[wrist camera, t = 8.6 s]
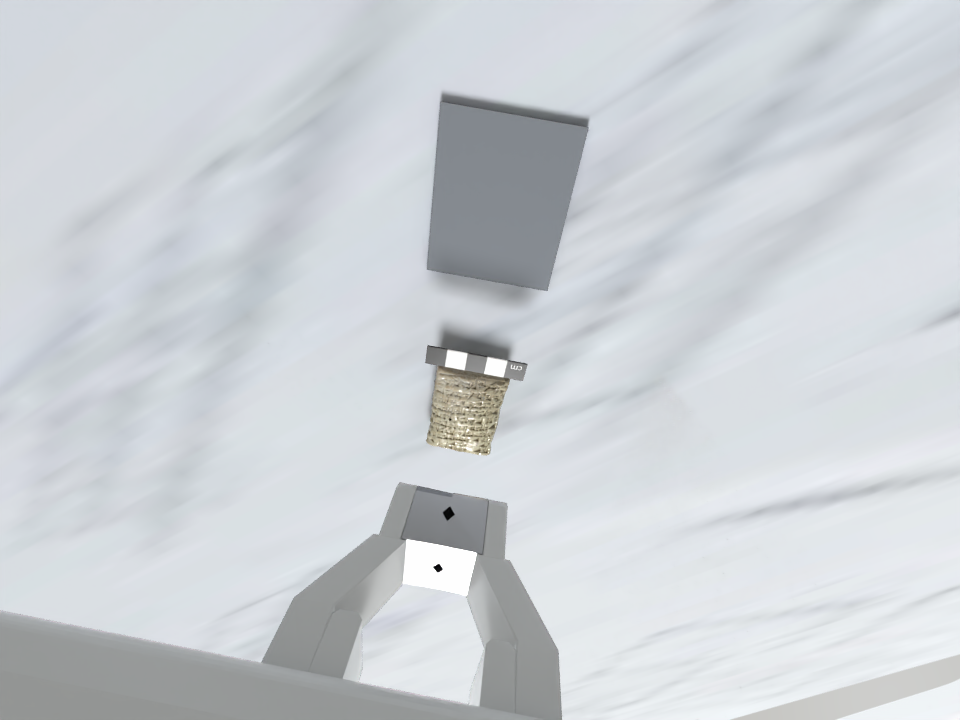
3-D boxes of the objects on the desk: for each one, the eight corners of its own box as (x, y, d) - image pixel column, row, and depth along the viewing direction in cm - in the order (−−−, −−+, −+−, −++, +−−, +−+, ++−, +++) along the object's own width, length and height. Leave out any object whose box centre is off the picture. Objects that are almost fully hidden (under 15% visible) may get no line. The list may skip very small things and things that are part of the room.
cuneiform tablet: (527, 364, 28) (494, 478, 34) (525, 334, 32) (496, 441, 38) (427, 346, 28) (412, 464, 34) (437, 317, 32) (422, 428, 38)
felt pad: (587, 127, 24) (588, 127, 24) (546, 289, 30) (547, 291, 29) (441, 101, 24) (440, 101, 24) (427, 268, 30) (426, 269, 29)
